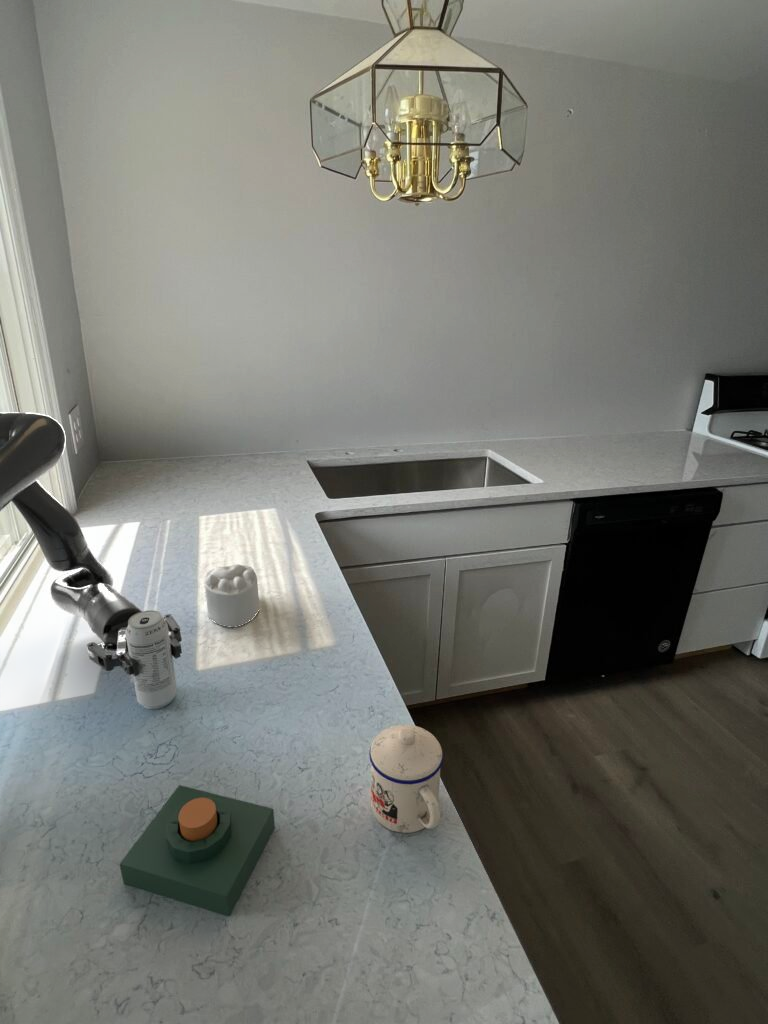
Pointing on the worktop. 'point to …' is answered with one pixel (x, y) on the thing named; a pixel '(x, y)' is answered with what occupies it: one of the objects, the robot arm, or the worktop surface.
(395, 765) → the teacup with lid
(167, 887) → the button base
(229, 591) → the lumpy-topped squat cylinder
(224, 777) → the worktop surface
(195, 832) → the orange round push button
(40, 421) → the robot arm
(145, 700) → the energy drink can
